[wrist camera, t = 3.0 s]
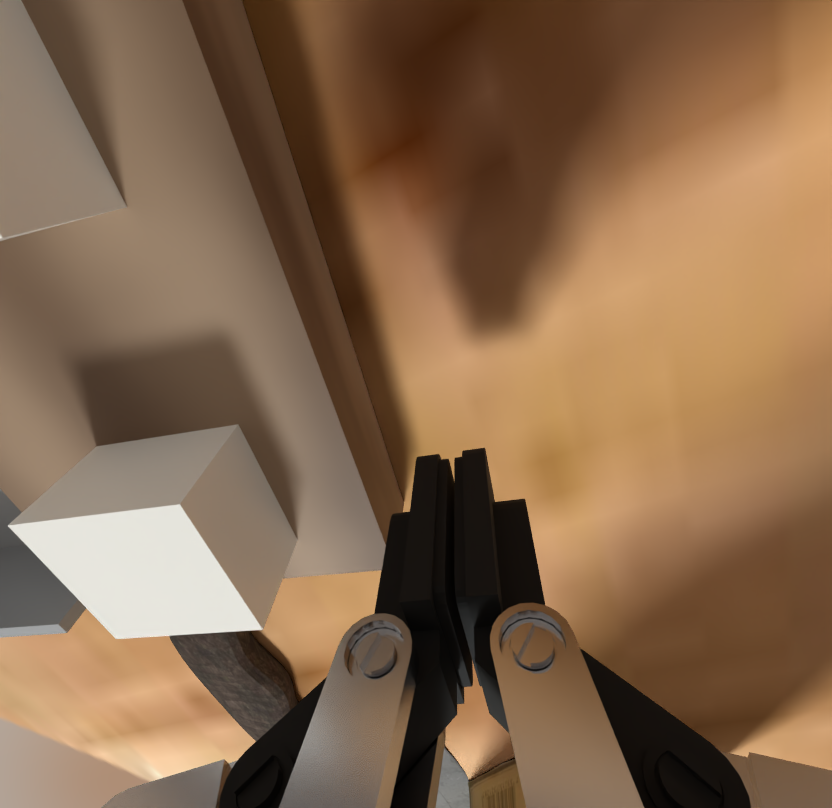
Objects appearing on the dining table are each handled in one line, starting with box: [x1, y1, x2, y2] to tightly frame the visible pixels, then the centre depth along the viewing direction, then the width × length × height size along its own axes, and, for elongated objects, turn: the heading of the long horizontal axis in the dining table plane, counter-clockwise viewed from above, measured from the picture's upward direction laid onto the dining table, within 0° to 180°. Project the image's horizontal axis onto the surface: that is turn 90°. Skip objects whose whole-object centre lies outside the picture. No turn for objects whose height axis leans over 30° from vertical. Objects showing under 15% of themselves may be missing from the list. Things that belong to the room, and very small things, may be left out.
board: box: [0, 0, 404, 578], centre depth 12 cm, size 12×18×3 cm, turn 13°
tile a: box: [8, 424, 297, 639], centre depth 12 cm, size 4×4×3 cm
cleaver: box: [170, 631, 470, 808], centre depth 27 cm, size 29×10×2 cm, turn 22°
